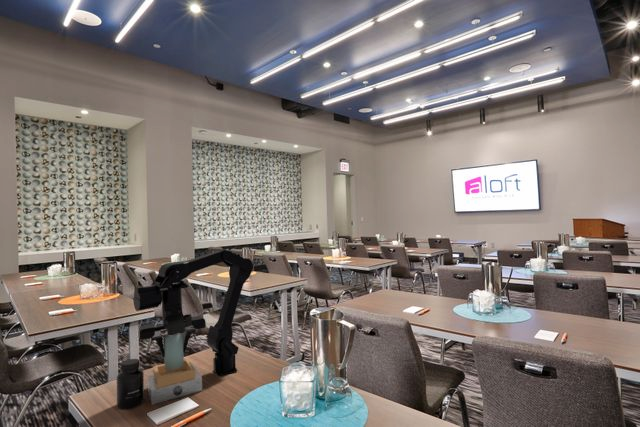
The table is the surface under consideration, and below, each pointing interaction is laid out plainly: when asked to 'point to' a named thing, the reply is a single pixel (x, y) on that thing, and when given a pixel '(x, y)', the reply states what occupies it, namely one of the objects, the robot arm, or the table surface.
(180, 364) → the tin can
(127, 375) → the supplement bottle
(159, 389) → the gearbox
